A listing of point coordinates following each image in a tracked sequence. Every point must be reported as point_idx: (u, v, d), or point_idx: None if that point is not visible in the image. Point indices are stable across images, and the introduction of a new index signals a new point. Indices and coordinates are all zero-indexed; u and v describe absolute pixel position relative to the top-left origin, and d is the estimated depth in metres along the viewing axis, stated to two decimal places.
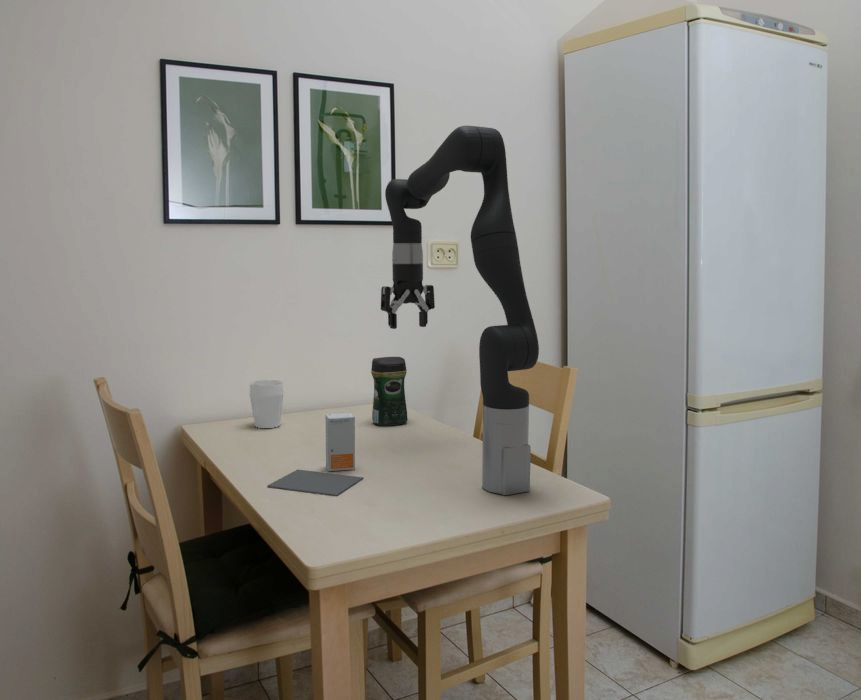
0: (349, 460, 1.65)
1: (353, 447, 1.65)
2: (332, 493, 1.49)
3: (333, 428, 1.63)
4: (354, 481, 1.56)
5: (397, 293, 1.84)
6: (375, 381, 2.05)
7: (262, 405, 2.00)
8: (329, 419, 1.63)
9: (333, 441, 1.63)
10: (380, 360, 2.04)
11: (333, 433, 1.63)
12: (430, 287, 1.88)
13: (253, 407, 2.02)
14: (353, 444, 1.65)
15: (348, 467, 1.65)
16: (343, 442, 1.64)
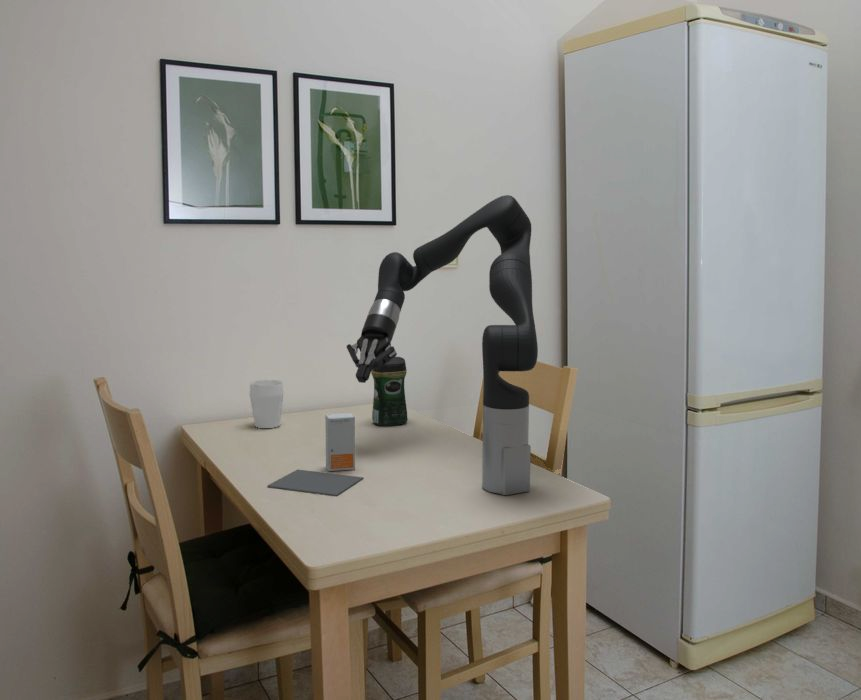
0: (349, 460, 1.65)
1: (353, 447, 1.65)
2: (332, 493, 1.49)
3: (333, 428, 1.63)
4: (354, 481, 1.56)
5: None
6: (375, 381, 2.05)
7: (262, 405, 2.00)
8: (329, 419, 1.63)
9: (333, 441, 1.63)
10: None
11: (333, 433, 1.63)
12: None
13: (253, 407, 2.02)
14: (353, 444, 1.65)
15: (348, 467, 1.65)
16: (343, 442, 1.64)
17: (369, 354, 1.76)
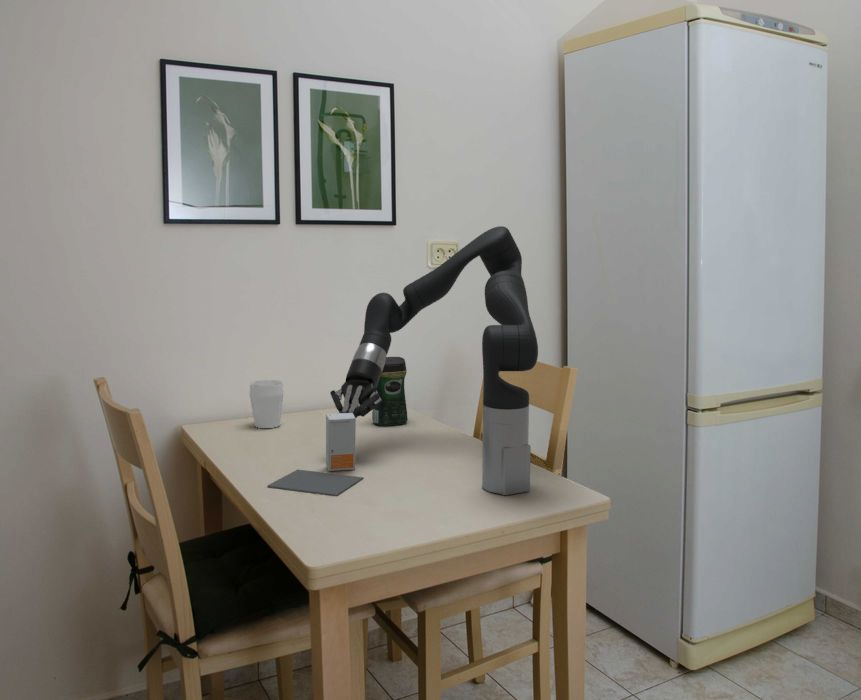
0: (349, 460, 1.65)
1: (353, 448, 1.64)
2: (332, 493, 1.49)
3: (334, 429, 1.62)
4: (354, 481, 1.56)
5: None
6: None
7: (262, 405, 2.00)
8: (330, 420, 1.62)
9: (333, 442, 1.63)
10: None
11: (333, 434, 1.62)
12: None
13: (253, 407, 2.02)
14: (353, 445, 1.64)
15: (348, 467, 1.65)
16: (343, 443, 1.63)
17: (353, 401, 1.70)
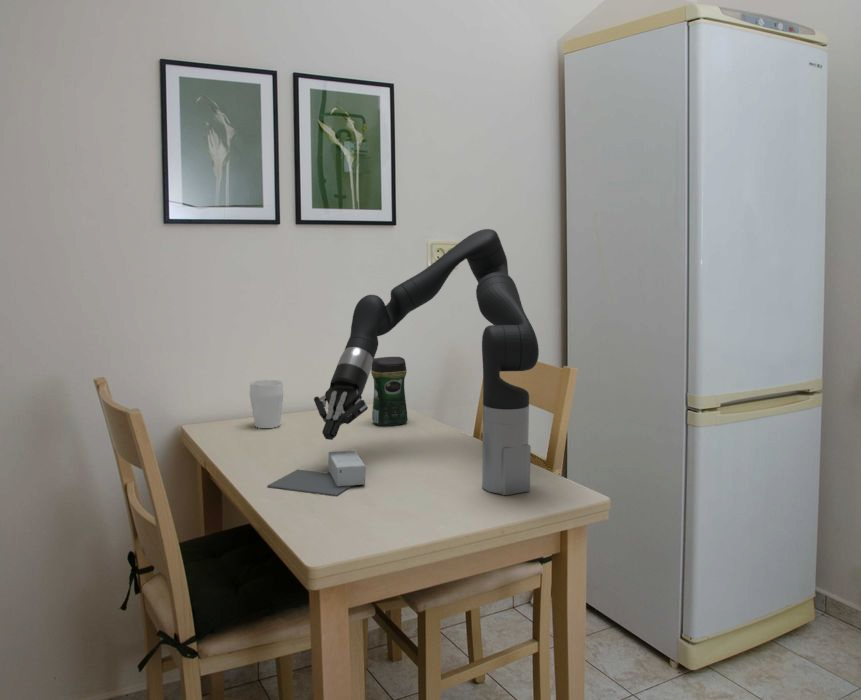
0: None
1: None
2: (332, 493, 1.49)
3: None
4: None
5: None
6: (375, 381, 2.05)
7: (262, 405, 2.00)
8: None
9: None
10: (380, 360, 2.04)
11: None
12: None
13: (253, 407, 2.02)
14: None
15: None
16: None
17: (337, 408, 1.63)
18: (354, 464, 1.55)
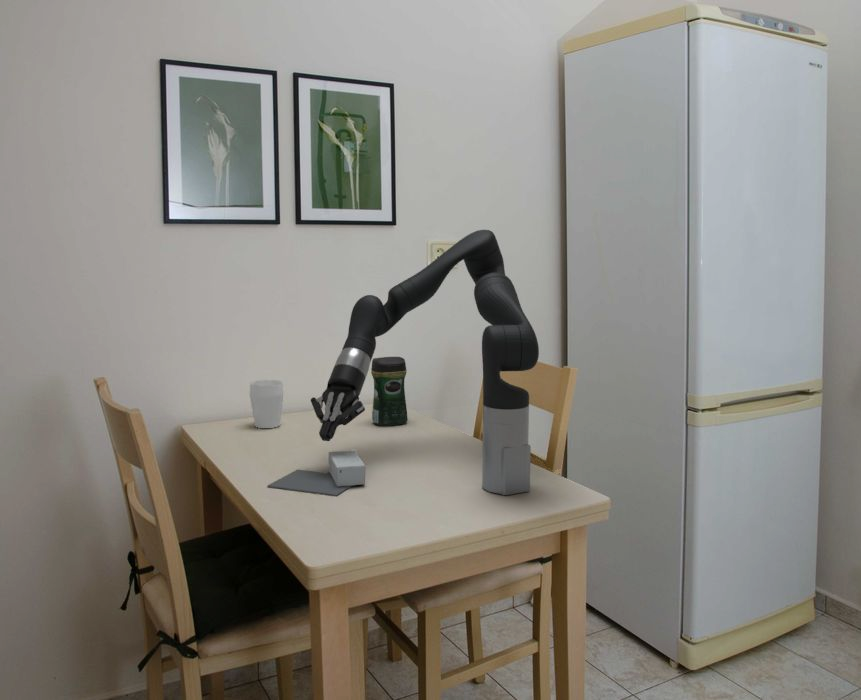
0: None
1: None
2: (332, 493, 1.49)
3: None
4: None
5: None
6: (375, 381, 2.05)
7: (262, 405, 2.00)
8: None
9: None
10: (380, 360, 2.04)
11: None
12: None
13: (253, 407, 2.02)
14: None
15: None
16: None
17: (334, 409, 1.61)
18: (354, 464, 1.55)
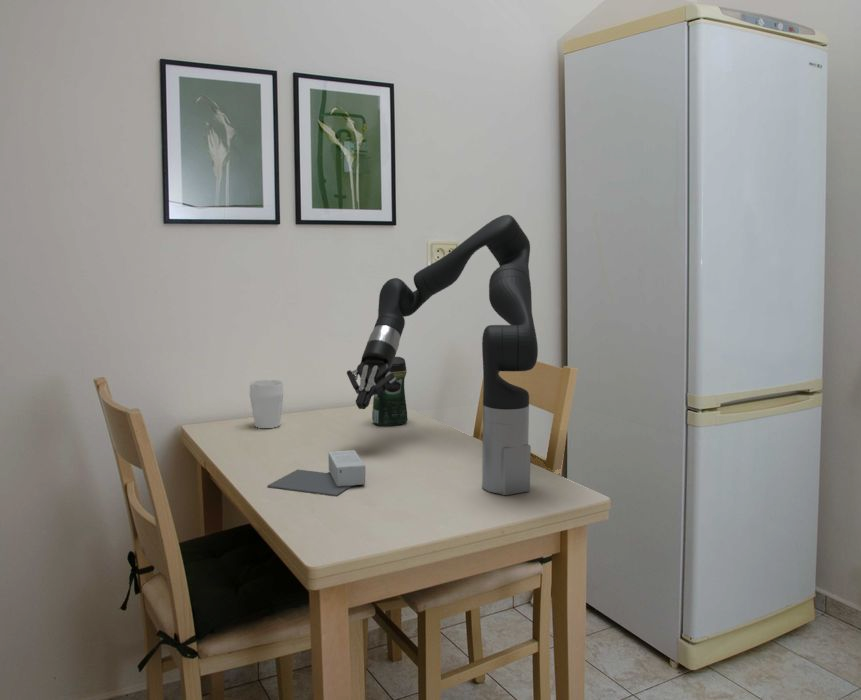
0: None
1: None
2: (332, 493, 1.49)
3: None
4: None
5: None
6: None
7: (262, 405, 2.00)
8: None
9: None
10: None
11: None
12: None
13: (253, 407, 2.02)
14: None
15: None
16: None
17: (369, 380, 1.77)
18: (354, 464, 1.55)
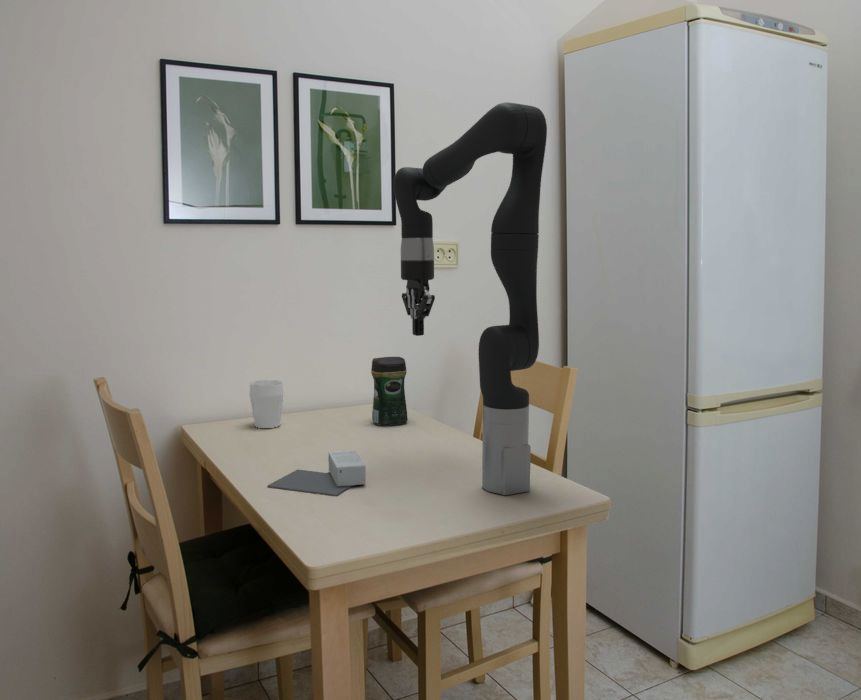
0: None
1: None
2: (332, 493, 1.49)
3: None
4: None
5: None
6: (375, 381, 2.05)
7: (262, 405, 2.00)
8: None
9: None
10: (380, 360, 2.04)
11: None
12: None
13: (253, 407, 2.02)
14: None
15: None
16: None
17: (412, 307, 1.69)
18: (354, 464, 1.55)
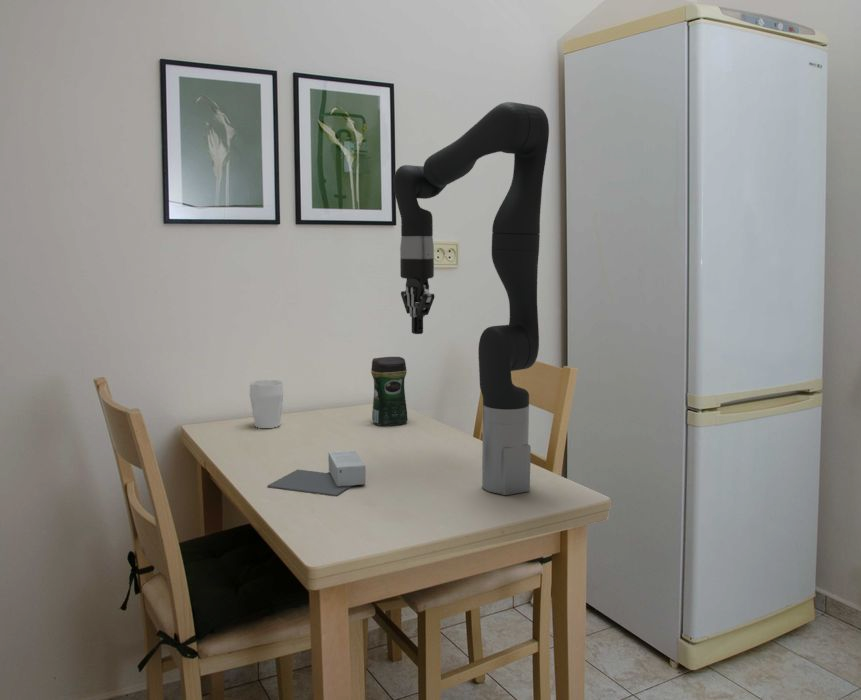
0: None
1: None
2: (332, 493, 1.49)
3: None
4: None
5: None
6: (375, 381, 2.05)
7: (262, 405, 2.00)
8: None
9: None
10: (380, 360, 2.04)
11: None
12: None
13: (253, 407, 2.02)
14: None
15: None
16: None
17: (412, 306, 1.69)
18: (354, 464, 1.55)
